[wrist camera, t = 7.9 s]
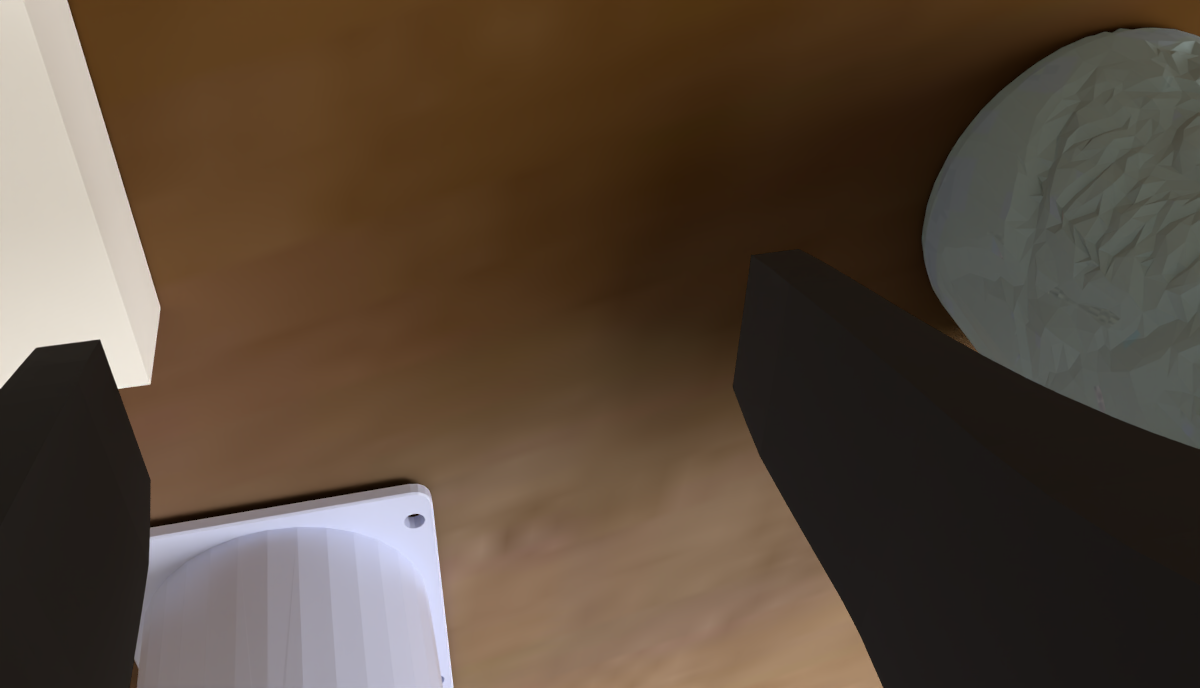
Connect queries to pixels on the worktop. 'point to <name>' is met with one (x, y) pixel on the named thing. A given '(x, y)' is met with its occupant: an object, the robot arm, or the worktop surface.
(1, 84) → the white frame with crossbar
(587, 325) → the worktop surface
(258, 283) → the worktop surface
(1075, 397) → the pale teal cup
